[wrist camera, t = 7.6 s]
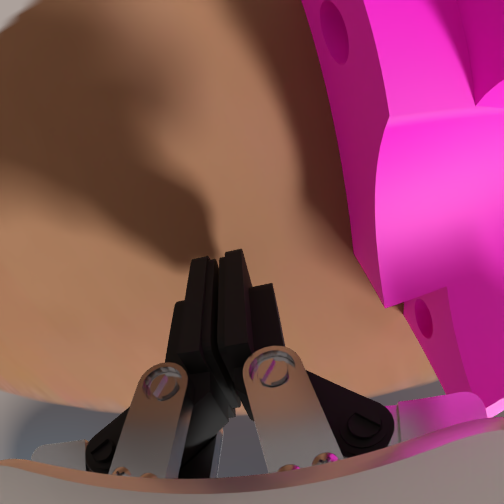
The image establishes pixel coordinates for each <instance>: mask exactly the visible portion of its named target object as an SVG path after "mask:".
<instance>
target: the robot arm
mask: <svg viewBox="0 0 504 504" xmlns="http://www.w3.org/2000/svg"><path fill="white" fill-rule="evenodd" d="M241 402H242V404H243V406H244V408H245V410H246V412H247V414H248V416H249V417H250V419H251V420H253V421H254V422H255V425H256V429H257V432H258V436H259V439H260V443H261V447H262V451H263V454H264V458H265V461H266V465H267V468H268V472H269V473H268V474H260V475H251V476H240V477H227V478H217V474H218V467H219V460H220V454H221V447H222V440H223V427H224V426H225V425H226V424H227V423H228V422H229V418H231V417H236V414H235V408H237V407H240V406H241ZM0 504H504V417H494V418H487V413H486V409H485V406H484V404H483V401H482V400H481V399H480V398H479V397H478V396H477V395H476V394H473V393H471V392H458V393H453V394H448V395H442V396H436V397H430V398H423V399H417V400H409V401H401V402H398V404H397V405H392V406H383V405H381V404H380V403H378V402H375V401H373V400H371V399H369V398H366V397H364V396H362V395H359V394H357V393H355V392H352V391H350V390H348V389H346V388H343V387H341V386H339V385H337V384H335V383H332V382H330V381H328V380H326V379H324V378H322V377H320V376H317V375H315V374H313V373H311V372H309V371H307V370H305V368H304V366H303V363H302V361H301V359H300V357H299V356H298V355H297V353H296V352H294V351H293V350H291V349H290V348H287V347H285V343H284V338H283V333H282V327H281V322H280V317H279V312H278V307H277V302H276V298H275V293H274V289H273V284H272V283H270V284H265V285H260V286H255V287H252V284H251V280H250V277H249V273H248V269H247V265H246V262H245V258H244V254H243V251H242V249H238V250H234V251H229V252H225V257H222V258H220V260H219V267H218V264H217V261H216V259H213V260H210V258H209V256H206V257H201V258H196V259H192V261H191V265H190V271H189V277H188V283H187V289H186V296H185V300H184V301H178V302H176V304H175V307H174V312H173V318H172V323H171V329H170V335H169V341H168V347H167V353H166V359H165V363H160V364H157V365H155V366H153V367H151V368H150V369H148V370H147V371H146V372H145V373H144V374H143V375H142V377H141V379H140V380H139V382H138V385H137V388H136V391H135V394H134V396H133V399H132V402H131V405H130V407H129V408H128V409H126V410H125V411H124V412H123V413H122V414H121V415H119V416H118V417H117V418H116V419H115V420H113V421H112V422H111V423H110V424H108V425H107V426H106V427H105V428H104V429H102V430H101V431H100V432H99V433H98V434H96V435H95V436H94V437H93V438H92V439H91V440H90V441H89V442H88V441H87V440H85V439H84V440H78V441H71V442H64V443H56V444H48V445H43V446H40V447H38V448H37V449H36V450H35V451H34V453H33V455H32V457H31V461H29V460H23V459H6V460H0Z"/></svg>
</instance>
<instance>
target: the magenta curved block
mask: <svg viewBox="0 0 504 504" xmlns="http://www.w3.org/2000/svg"><path fill="white" fill-rule="evenodd" d="M301 1H302V4H303V7H304V10H305V13H306V16H307V20H308V23H309V26H310V29H311V33H312V36H313V40H314V43H315V47H316V50H317V54H318V58H319V62H320V65H321V69H322V73H323V77H324V81H325V86H326V90H327V94H328V98H329V103H330V107H331V112H332V117H333V121H334V126H335V131H336V136H337V142H338V147H339V152H340V158H341V164H342V170H343V176H344V182H345V188H346V195H347V202H348V209H349V217H350V225H351V233H352V242H353V251H354V255H355V257H356V259H357V260H358V262H359V264H360V265H361V267H362V269H363V270H364V272H365V274H366V275H367V277H368V279H369V281H370V282H371V284H372V286H373V288H374V289H375V291H376V293H377V295H378V296H379V298H380V300H381V302H382V304H383V305H384V307H385V308H388V307H391V306H394V305H396V304H399V303H402V302H404V312H403V315H404V317H405V318H406V320H407V322H408V323H409V325H410V327H411V329H412V330H413V332H414V334H415V336H416V338H417V339H418V341H419V343H420V345H421V347H422V349H423V350H424V352H425V354H426V356H427V358H428V360H429V362H430V364H431V365H432V367H433V369H434V371H435V373H436V375H437V377H438V379H439V381H440V383H441V385H442V387H443V389H444V391H445V393H446V395H448V394H453V393H458V392H471V393H473V394H476V395H477V396H478V397H479V398H480V399H481V400H482V401H483V404H484V406H485V409H486V413H487V418H492V417H493V416H495V415H497V414H498V413H500V412H501V411H503V410H504V0H301Z"/></svg>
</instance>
